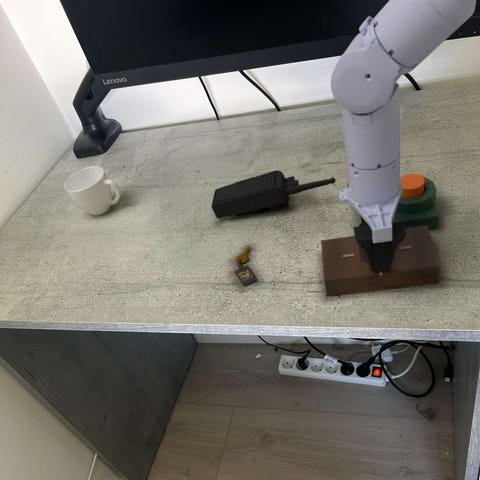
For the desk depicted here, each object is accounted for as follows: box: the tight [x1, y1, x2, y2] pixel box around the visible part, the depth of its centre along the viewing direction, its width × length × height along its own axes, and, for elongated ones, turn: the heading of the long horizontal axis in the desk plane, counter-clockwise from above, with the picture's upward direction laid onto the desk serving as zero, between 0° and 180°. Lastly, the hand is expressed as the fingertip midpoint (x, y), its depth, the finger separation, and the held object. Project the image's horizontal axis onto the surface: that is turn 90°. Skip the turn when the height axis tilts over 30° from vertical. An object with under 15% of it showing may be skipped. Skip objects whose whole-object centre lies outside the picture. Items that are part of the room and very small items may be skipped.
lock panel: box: [320, 225, 441, 297], centre depth 64 cm, size 14×9×3 cm, turn 87°
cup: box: [63, 166, 122, 217], centre depth 90 cm, size 8×10×7 cm
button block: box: [392, 176, 440, 230], centre depth 71 cm, size 10×9×4 cm
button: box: [400, 173, 425, 199], centre depth 68 cm, size 4×4×2 cm
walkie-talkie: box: [211, 169, 336, 219], centre depth 78 cm, size 6×6×20 cm
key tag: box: [234, 245, 258, 287], centre depth 72 cm, size 8×3×1 cm, turn 7°
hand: (376, 249), depth 63 cm, fingers open, 7 cm apart
